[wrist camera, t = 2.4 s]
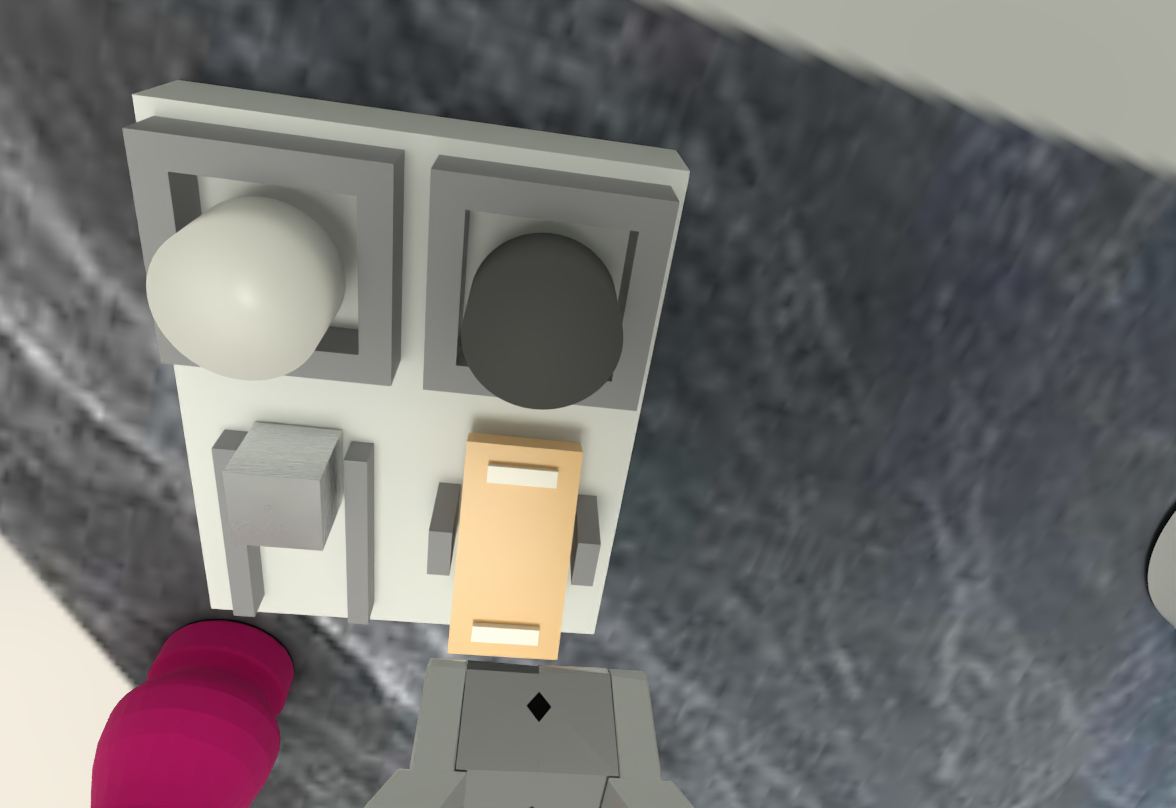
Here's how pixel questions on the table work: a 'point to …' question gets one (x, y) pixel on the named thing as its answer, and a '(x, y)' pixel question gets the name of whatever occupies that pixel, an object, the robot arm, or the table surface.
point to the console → (402, 328)
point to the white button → (247, 288)
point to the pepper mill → (197, 723)
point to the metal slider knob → (284, 486)
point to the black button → (542, 322)
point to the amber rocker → (514, 546)
